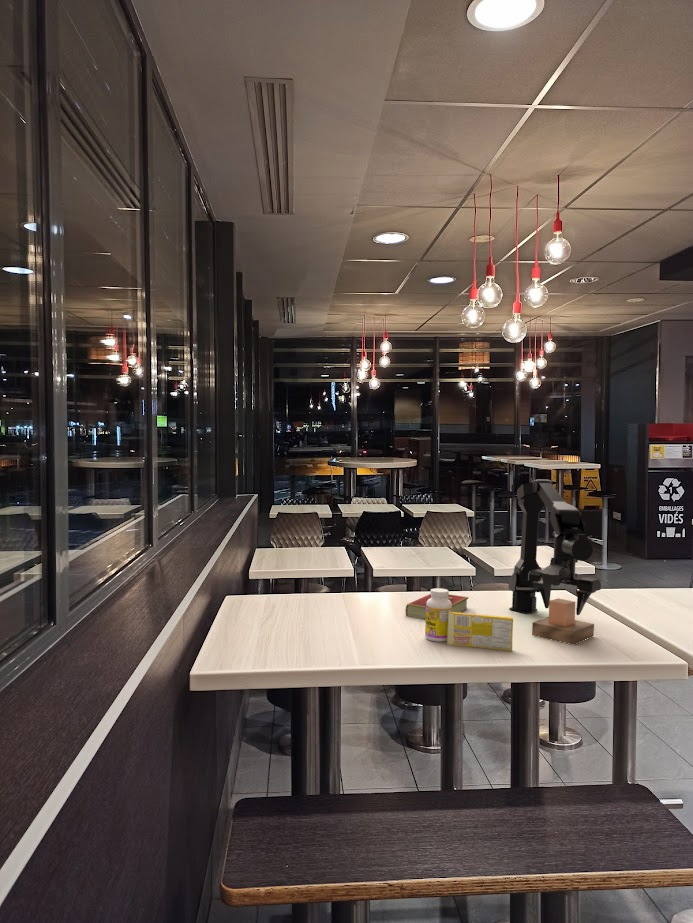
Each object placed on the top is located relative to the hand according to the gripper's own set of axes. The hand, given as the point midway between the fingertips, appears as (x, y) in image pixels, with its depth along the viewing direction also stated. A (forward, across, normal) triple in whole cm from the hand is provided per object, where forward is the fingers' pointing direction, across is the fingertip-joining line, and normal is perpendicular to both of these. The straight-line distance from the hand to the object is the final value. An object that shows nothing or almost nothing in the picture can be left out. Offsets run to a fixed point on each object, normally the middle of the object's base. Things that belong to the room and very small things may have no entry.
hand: (562, 611), depth 185 cm
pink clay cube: (+3, 0, 0) cm, 3 cm away
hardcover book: (+7, -37, -6) cm, 39 cm away
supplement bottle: (+7, -19, -30) cm, 36 cm away
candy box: (+7, -8, -27) cm, 29 cm away
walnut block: (+7, 0, 0) cm, 7 cm away
